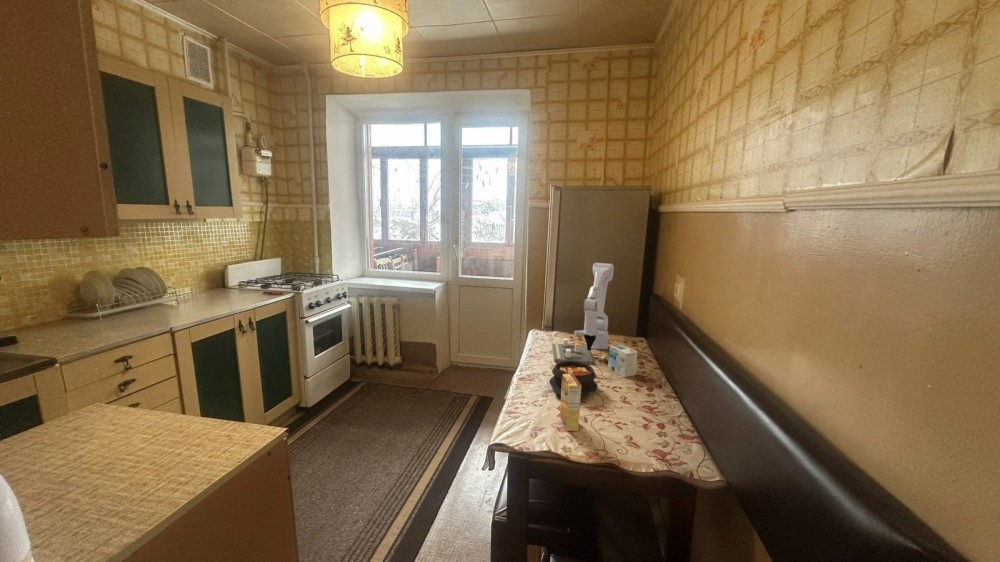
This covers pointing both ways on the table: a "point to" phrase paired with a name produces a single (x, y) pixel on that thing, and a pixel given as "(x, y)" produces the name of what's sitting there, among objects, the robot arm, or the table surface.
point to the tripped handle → (577, 347)
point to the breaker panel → (571, 353)
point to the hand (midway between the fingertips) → (588, 349)
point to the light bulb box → (622, 360)
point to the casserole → (581, 373)
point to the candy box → (570, 402)
